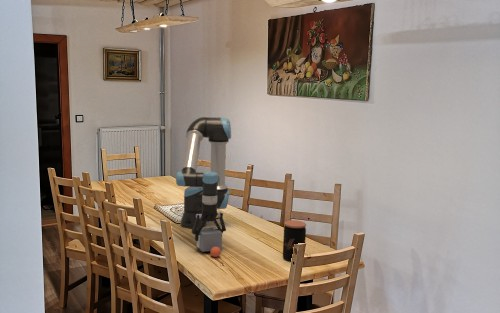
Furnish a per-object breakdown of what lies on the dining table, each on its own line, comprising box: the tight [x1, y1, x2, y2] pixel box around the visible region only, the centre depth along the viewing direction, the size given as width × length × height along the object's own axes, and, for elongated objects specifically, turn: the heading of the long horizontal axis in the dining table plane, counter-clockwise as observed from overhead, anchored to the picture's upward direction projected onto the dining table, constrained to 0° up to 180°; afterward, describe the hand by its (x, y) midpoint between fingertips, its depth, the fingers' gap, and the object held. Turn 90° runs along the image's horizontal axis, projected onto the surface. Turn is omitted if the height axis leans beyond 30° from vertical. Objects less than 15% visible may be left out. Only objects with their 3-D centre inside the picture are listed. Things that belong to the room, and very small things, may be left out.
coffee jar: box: [282, 219, 307, 263], centre depth 232 cm, size 11×11×18 cm
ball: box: [209, 247, 222, 258], centre depth 232 cm, size 5×5×5 cm
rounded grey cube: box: [195, 226, 223, 253], centre depth 240 cm, size 10×10×9 cm
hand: (208, 245), depth 240 cm, fingers closed on rounded grey cube, 10 cm apart
